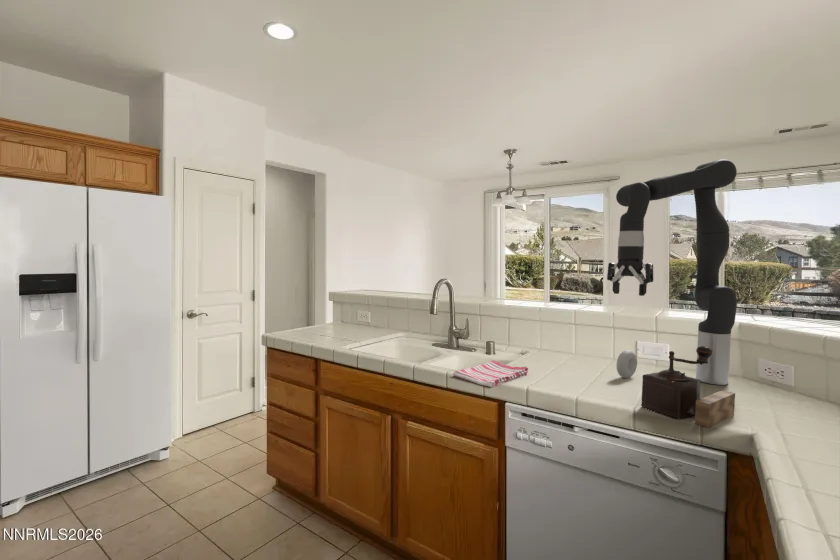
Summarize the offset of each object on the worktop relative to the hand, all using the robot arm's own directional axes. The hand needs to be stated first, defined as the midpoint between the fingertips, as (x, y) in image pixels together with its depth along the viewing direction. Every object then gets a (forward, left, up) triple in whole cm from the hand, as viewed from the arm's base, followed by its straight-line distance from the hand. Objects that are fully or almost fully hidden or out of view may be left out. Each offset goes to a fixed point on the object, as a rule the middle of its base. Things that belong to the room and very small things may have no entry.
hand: (628, 294), depth 136 cm
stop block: (+9, +30, -30) cm, 43 cm away
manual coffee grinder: (+10, +21, -30) cm, 38 cm away
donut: (-8, -4, -30) cm, 32 cm away
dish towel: (+31, -31, -31) cm, 54 cm away
